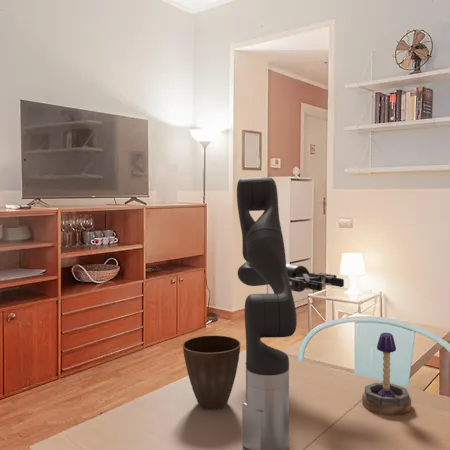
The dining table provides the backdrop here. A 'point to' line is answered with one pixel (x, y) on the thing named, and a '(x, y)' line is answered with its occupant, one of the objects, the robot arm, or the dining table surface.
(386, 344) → the toy lamp
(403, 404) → the plinth
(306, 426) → the dining table surface
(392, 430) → the dining table surface
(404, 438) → the dining table surface
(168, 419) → the dining table surface
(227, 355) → the plant pot
